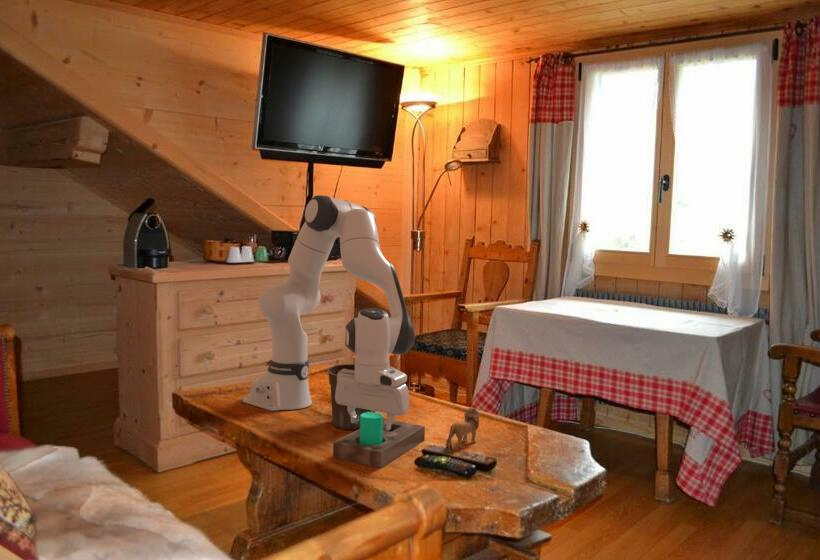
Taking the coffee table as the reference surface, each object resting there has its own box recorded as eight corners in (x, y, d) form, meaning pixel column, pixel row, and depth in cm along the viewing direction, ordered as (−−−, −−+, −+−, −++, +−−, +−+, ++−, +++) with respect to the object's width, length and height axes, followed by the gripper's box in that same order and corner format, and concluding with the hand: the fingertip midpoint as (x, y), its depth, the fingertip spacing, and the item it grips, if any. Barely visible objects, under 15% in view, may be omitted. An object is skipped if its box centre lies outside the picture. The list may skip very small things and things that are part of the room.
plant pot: (389, 419, 209) (390, 366, 207) (370, 435, 193) (372, 379, 192) (338, 413, 213) (339, 361, 212) (317, 428, 198) (318, 373, 196)
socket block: (332, 457, 176) (333, 442, 175) (380, 431, 197) (380, 417, 197) (380, 468, 169) (381, 452, 169) (424, 440, 191) (424, 426, 190)
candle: (379, 460, 175) (380, 413, 174) (356, 457, 176) (357, 411, 175) (384, 452, 181) (386, 407, 179) (362, 449, 182) (363, 405, 181)
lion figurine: (465, 435, 196) (466, 404, 195) (482, 439, 193) (484, 407, 192) (441, 450, 183) (442, 417, 182) (459, 454, 181) (460, 421, 180)
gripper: (330, 370, 178) (329, 422, 179) (401, 381, 169) (399, 436, 170) (344, 365, 184) (343, 416, 185) (412, 376, 174) (411, 429, 176)
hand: (370, 426), depth 177 cm, fingers open, 8 cm apart
